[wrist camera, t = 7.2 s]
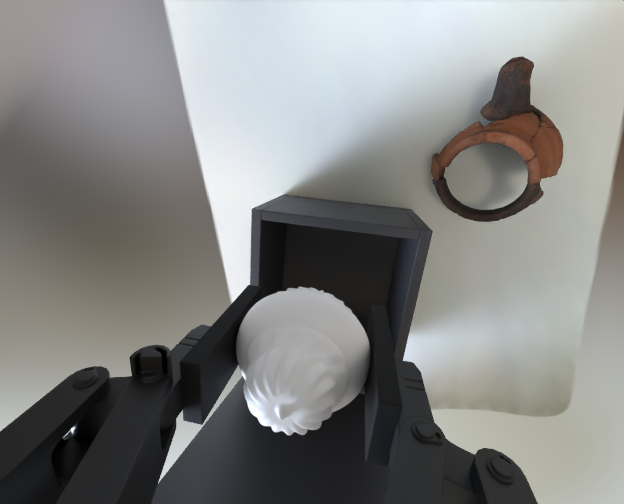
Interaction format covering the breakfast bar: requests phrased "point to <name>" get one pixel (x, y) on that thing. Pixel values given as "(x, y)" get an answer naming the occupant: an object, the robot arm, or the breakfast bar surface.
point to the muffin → (301, 358)
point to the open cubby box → (343, 256)
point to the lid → (275, 461)
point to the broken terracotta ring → (506, 141)
